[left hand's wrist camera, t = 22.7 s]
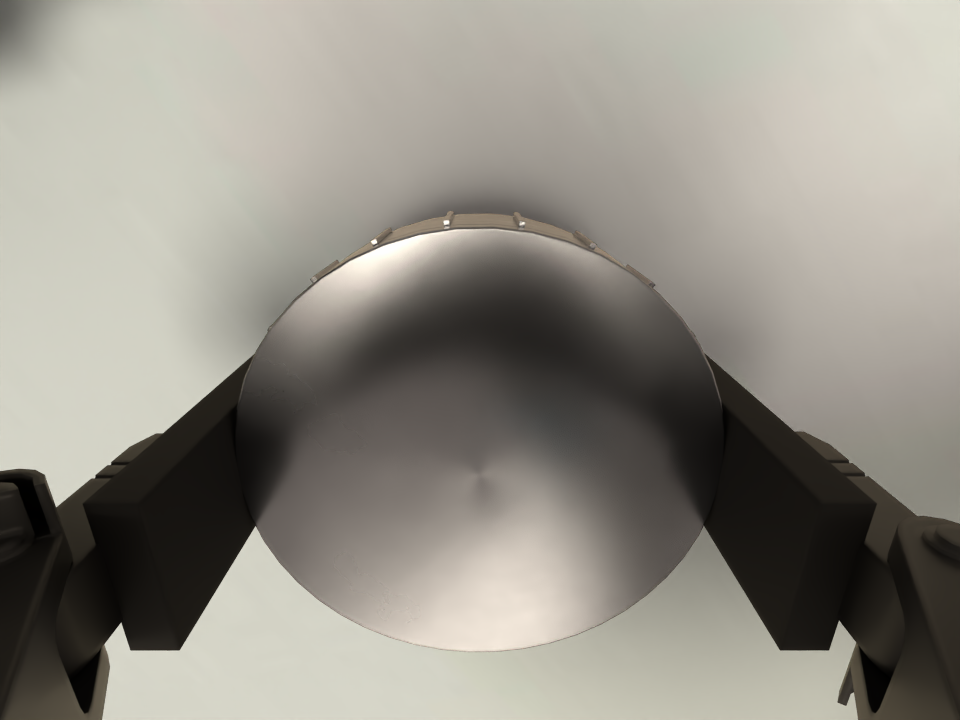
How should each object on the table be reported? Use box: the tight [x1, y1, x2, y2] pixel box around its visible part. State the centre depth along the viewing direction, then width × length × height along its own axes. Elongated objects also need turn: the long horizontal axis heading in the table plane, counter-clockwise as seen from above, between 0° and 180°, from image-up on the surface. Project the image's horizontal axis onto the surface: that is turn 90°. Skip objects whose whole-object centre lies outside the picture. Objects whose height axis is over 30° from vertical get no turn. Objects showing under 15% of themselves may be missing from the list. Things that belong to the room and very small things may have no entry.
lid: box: [234, 211, 725, 652], centre depth 11 cm, size 9×10×2 cm
